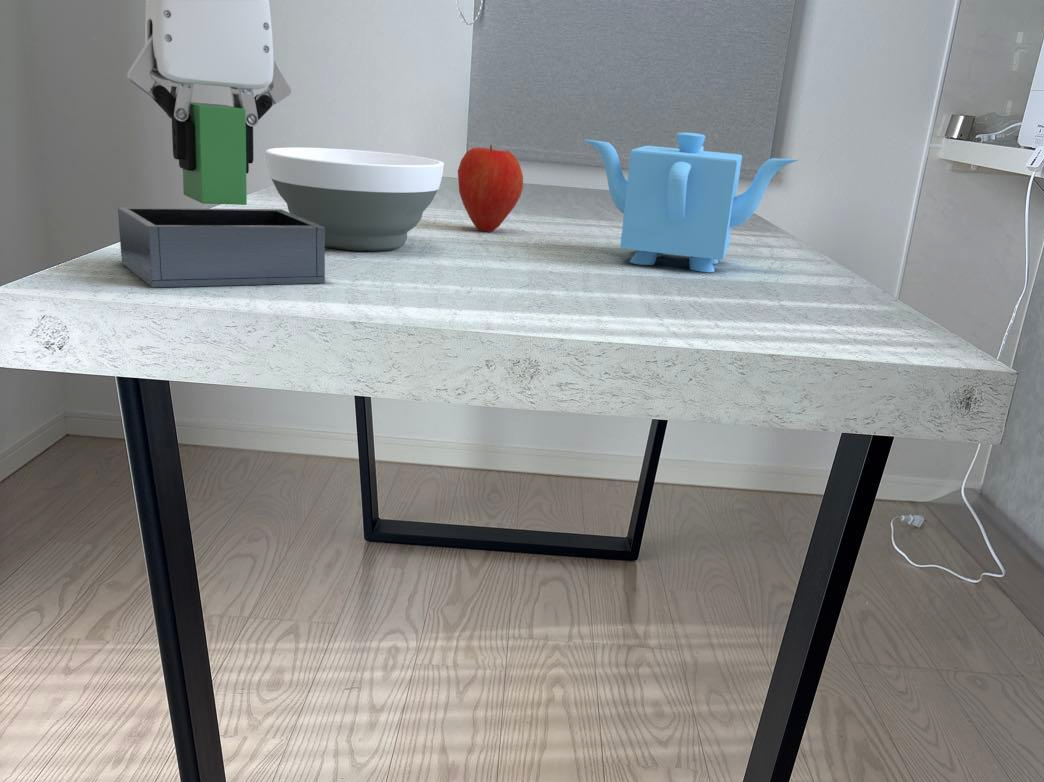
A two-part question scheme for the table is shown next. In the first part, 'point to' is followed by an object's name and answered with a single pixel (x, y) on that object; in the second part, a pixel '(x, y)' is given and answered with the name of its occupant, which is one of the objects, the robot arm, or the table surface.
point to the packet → (218, 155)
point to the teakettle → (682, 199)
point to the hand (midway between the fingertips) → (213, 168)
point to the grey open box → (221, 247)
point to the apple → (489, 186)
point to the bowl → (356, 193)
